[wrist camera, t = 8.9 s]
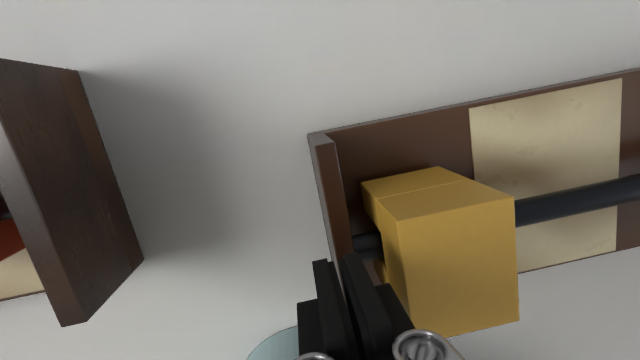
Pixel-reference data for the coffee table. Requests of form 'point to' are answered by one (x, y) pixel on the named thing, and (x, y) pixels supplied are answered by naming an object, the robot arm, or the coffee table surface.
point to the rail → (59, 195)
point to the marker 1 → (9, 239)
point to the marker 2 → (446, 249)
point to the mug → (278, 346)
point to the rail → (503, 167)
